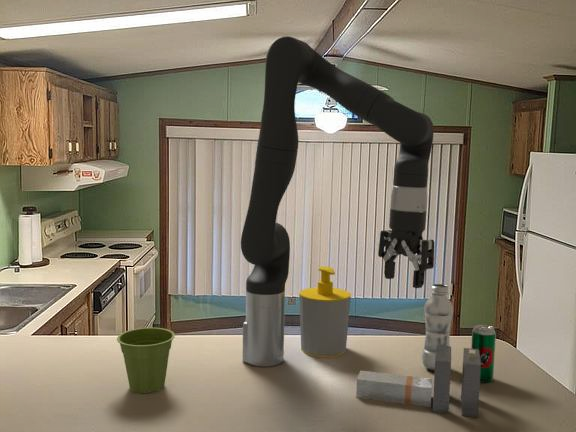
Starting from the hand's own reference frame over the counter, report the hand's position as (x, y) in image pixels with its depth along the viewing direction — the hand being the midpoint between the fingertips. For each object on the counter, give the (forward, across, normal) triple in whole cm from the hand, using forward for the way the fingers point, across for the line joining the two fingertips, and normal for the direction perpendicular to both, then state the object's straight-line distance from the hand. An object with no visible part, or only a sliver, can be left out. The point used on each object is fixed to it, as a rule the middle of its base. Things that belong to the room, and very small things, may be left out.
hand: (403, 282), depth 129 cm
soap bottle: (+24, -26, 0) cm, 35 cm away
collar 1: (+22, +12, +1) cm, 25 cm away
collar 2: (+22, +16, +5) cm, 28 cm away
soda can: (+23, +7, +19) cm, 30 cm away
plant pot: (+24, -26, -47) cm, 59 cm away
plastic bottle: (+23, -2, +14) cm, 27 cm away
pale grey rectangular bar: (+23, +5, -5) cm, 24 cm away
